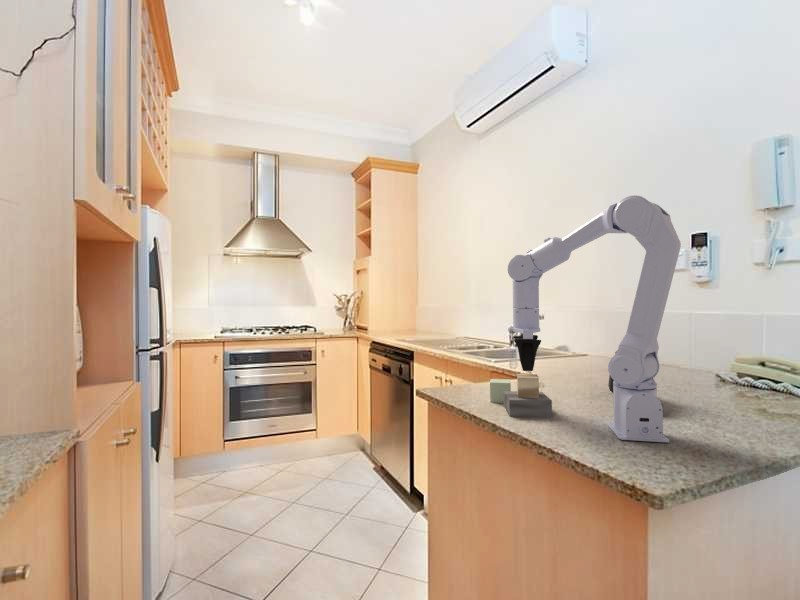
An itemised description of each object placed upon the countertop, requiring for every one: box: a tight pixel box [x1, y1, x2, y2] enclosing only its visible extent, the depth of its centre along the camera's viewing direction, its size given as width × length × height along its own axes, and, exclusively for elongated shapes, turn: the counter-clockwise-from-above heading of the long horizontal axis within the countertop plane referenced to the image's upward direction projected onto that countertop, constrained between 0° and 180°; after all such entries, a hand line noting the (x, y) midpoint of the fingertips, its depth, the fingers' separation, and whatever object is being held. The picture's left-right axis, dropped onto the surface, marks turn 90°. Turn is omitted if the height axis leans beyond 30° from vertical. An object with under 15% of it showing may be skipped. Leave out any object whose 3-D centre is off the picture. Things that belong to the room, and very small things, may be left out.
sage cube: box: [489, 378, 512, 404], centre depth 107 cm, size 5×5×5 cm
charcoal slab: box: [503, 390, 553, 418], centre depth 95 cm, size 9×9×4 cm
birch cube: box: [516, 373, 540, 398], centre depth 96 cm, size 4×4×4 cm
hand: (526, 368), depth 96 cm, fingers open, 7 cm apart
